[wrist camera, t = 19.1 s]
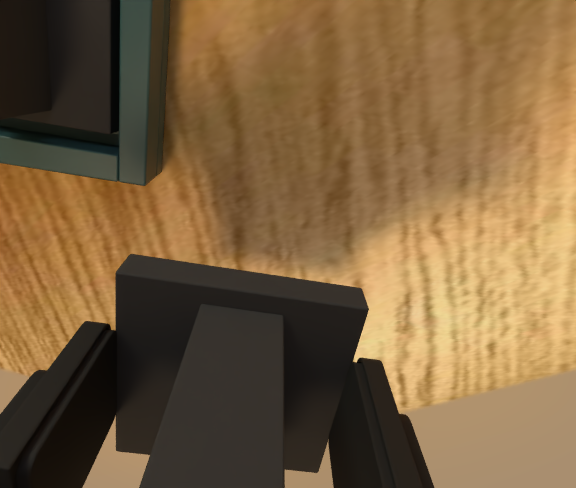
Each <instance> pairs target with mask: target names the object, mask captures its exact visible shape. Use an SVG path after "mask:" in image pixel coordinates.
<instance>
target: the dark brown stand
mask: <svg viewBox="0 0 576 488" xmlns="http://www.w3.org/2000/svg"><path fill="white" fill-rule="evenodd" d="M119 81H120V0H0V120H1V119H6V118H16V119H22V120H28V121H33V122H39V123H45V124H51V125H57V126H63V127H69V128H74V129H80V130H86V131H92V132H98V133H104V134H112V133H115V132H117V131H119Z"/></svg>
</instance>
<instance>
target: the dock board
mask: <svg viewBox="0 0 576 488" xmlns="http://www.w3.org/2000/svg"><path fill="white" fill-rule="evenodd" d="M170 1H171V0H120V81H119V131H117V132H115V133H112V134H104V133H98V132H92V131H86V130H80V129H74V128H69V127H63V126H57V125H51V124H45V123H39V122H33V121H28V120H22V119H16V118H6V119H1V120H0V163H4V164H10V165H17V166H23V167H29V168H35V169H42V170H48V171H54V172H60V173H66V174H73V175H79V176H85V177H91V178H98V179H104V180H110V181H116V182H117V181H120V182H123V183H129V184H136V185H142V186H145V185H147V184H148V183H149V182H150V181H151V180H152V179H153V178H155V177H156V176H157V175H158V174H160V173H161V172H162V156H163V137H164V117H165V98H166V79H167V59H168V40H169V21H170Z"/></svg>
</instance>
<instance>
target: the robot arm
mask: <svg viewBox="0 0 576 488" xmlns="http://www.w3.org/2000/svg"><path fill="white" fill-rule="evenodd" d="M116 411H117V332H116V331H114V330H111V327H110V325H109V324H105V323H98V322H90V321H86V322H84V323H83V324H82V325H81V327H80V328H79V329H78V331H77V332H76V333H75V335H74V336H73V337H72V339H71V340H70V341H69V343H68V344H67V345H66V347H65V348H64V349H63V350H62V352H61V353H60V354H59V356H58V357H57V358H56V360H55V361H54V362H53V364H52V365H51V366H50V368H49V369H48V370H47V371H46V370H38V371H36V372H34V374H33V375H32V376H31V377H30V378H29V379H28V380H27V381H26V383H25V384H24V385H23V386H22V388H21V389H20V390H19V392H18V393H17V394H16V395H15V397H14V398H13V399H12V400H11V402H10V403H9V404H8V405H7V407H6V408H5V409H4V410H3V412H2V413H1V414H0V488H82V487H83V485H84V483H85V481H86V479H87V476H88V474H89V472H90V470H91V468H92V465H93V464H94V462H95V459H96V457H97V455H98V453H99V451H100V449H101V447H102V444H103V442H104V440H105V438H106V436H107V434H108V432H109V429H110V427H111V425H112V423H113V421H114V418H115V415H116ZM329 452H330V461H331V469H332V478H333V485H334V488H434V485H433V483H432V480H431V477H430V474H429V471H428V469H427V466H426V463H425V460H424V457H423V455H422V452H421V449H420V446H419V443H418V440H417V438H416V435H415V432H414V429H413V426H412V423H411V421H410V419H409V417H408V416H406V415H404V414H399V413H398V410H397V407H396V404H395V401H394V397H393V394H392V391H391V388H390V385H389V382H388V379H387V376H386V373H385V370H384V367H383V364H382V362H381V361H380V360H374V359H367V358H359V359H358V361H357V363H356V362H352V363H351V365H350V368H349V371H348V375H347V378H346V381H345V384H344V388H343V391H342V394H341V397H340V401H339V404H338V407H337V410H336V413H335V417H334V420H333V423H332V426H331V430H330V433H329Z"/></svg>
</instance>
